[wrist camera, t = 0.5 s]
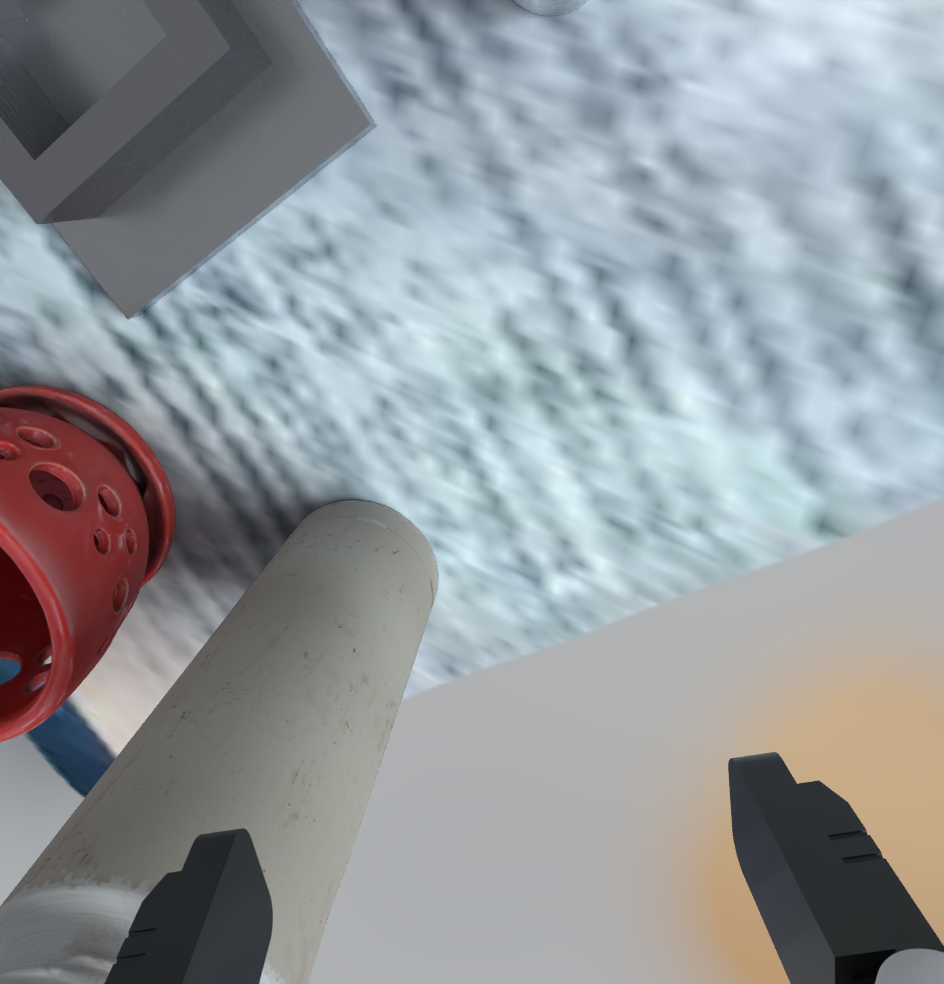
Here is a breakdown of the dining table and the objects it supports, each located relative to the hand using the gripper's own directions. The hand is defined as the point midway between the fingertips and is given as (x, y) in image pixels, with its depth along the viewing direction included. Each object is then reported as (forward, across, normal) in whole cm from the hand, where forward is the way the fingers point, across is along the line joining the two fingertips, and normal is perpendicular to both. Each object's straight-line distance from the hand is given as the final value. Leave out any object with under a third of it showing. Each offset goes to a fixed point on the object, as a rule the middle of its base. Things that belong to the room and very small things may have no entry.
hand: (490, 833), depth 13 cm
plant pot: (+28, +20, 0) cm, 34 cm away
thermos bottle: (+26, +7, +6) cm, 27 cm away
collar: (+26, +12, -19) cm, 34 cm away
